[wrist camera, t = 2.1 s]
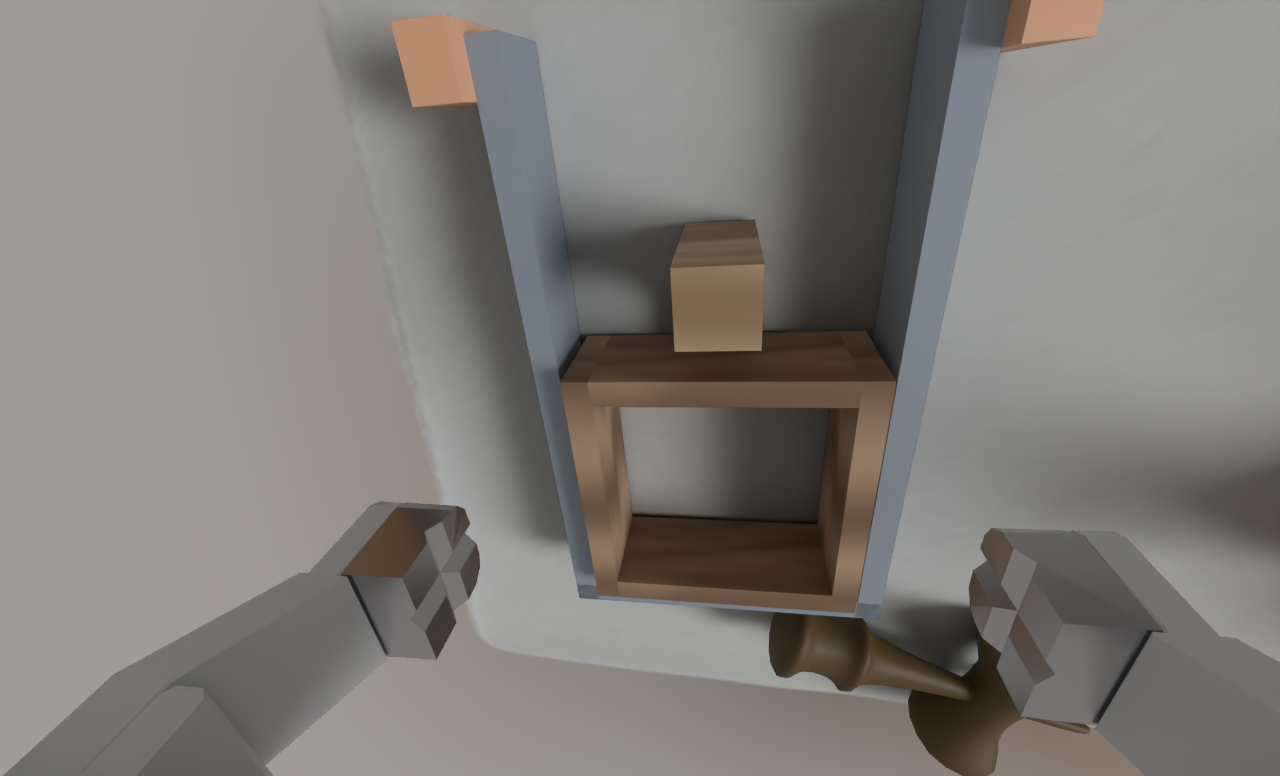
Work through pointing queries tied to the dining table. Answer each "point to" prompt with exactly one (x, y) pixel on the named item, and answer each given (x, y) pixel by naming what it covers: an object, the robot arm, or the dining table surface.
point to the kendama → (908, 685)
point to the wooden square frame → (729, 377)
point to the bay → (917, 248)
